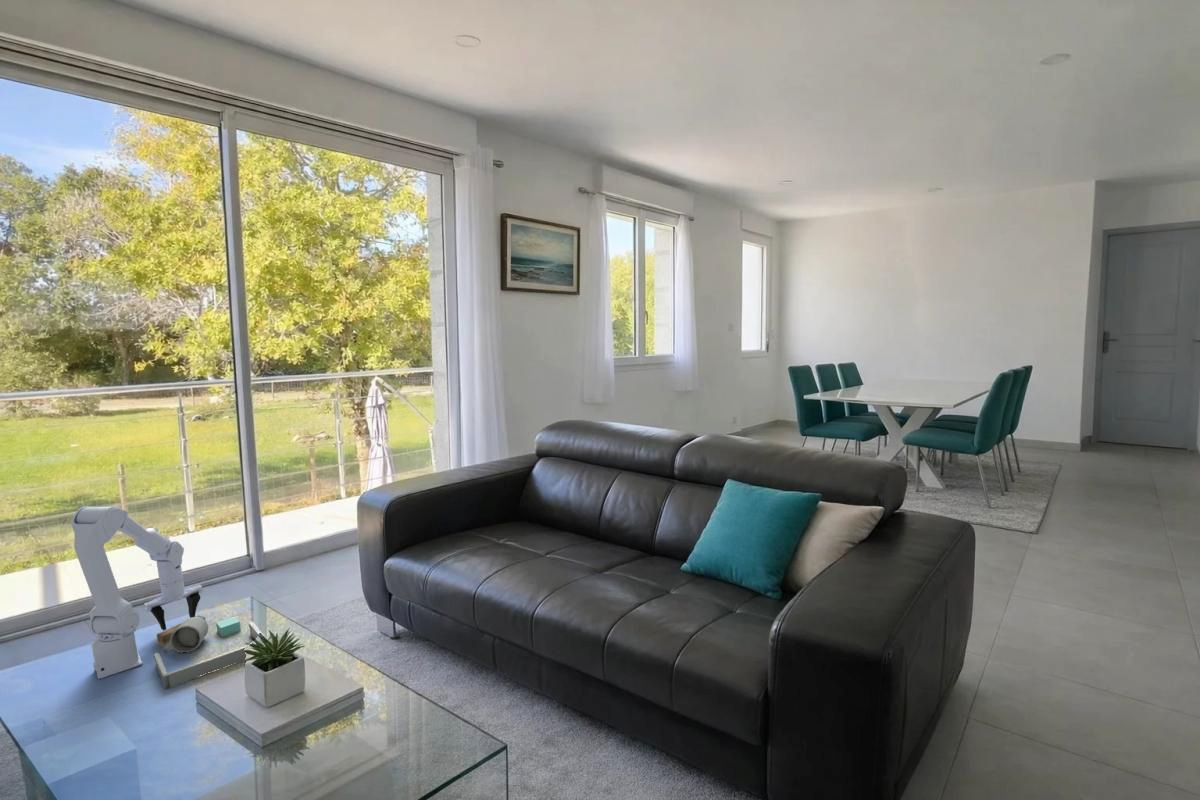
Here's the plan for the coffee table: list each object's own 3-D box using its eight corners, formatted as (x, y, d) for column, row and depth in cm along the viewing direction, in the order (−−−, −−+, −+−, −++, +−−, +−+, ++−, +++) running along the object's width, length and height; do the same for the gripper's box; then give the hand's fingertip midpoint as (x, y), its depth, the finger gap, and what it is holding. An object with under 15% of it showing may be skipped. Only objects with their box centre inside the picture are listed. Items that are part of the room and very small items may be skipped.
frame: (165, 689, 161) (163, 676, 160) (155, 666, 172) (153, 654, 171) (269, 651, 177) (267, 639, 176) (254, 632, 188) (252, 621, 187)
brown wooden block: (164, 647, 182) (162, 636, 181) (158, 645, 183) (156, 634, 183) (206, 628, 192) (204, 617, 192) (200, 626, 194) (198, 615, 193)
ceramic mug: (211, 635, 187) (207, 611, 186) (202, 650, 179) (198, 624, 178) (170, 643, 184) (166, 618, 183) (159, 658, 176) (154, 632, 175)
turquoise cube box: (222, 637, 186) (220, 628, 186) (217, 631, 190) (216, 622, 189) (241, 631, 189) (239, 621, 189) (236, 625, 193) (234, 616, 193)
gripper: (147, 593, 182) (155, 638, 184) (203, 574, 193) (210, 617, 195) (139, 587, 186) (146, 631, 188) (194, 569, 197) (200, 611, 199)
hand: (178, 623), depth 192 cm, fingers open, 7 cm apart
